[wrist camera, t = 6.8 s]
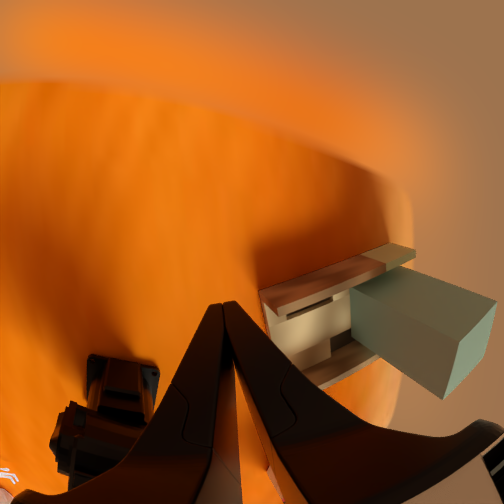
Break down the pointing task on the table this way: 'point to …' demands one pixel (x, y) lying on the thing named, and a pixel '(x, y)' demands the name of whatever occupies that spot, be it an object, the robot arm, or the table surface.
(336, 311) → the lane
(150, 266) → the table surface
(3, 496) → the molecule model
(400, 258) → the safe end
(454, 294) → the block
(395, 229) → the table surface
